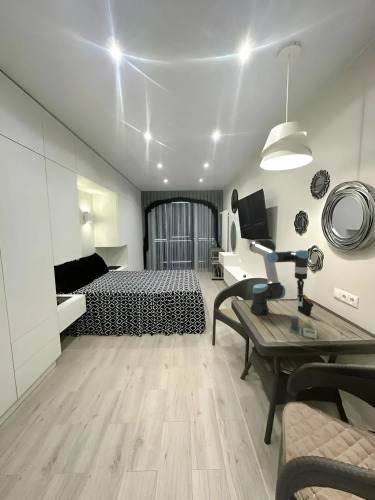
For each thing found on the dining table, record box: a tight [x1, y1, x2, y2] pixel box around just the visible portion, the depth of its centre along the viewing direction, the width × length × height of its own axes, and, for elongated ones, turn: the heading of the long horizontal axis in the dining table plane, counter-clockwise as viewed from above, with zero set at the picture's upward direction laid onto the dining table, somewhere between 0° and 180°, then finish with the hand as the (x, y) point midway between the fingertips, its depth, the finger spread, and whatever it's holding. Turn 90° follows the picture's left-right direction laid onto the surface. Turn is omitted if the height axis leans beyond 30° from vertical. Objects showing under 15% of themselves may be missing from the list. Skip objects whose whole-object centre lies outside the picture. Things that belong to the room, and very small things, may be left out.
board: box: [288, 324, 318, 340], centre depth 136 cm, size 16×12×3 cm
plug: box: [290, 315, 300, 331], centre depth 139 cm, size 4×4×8 cm
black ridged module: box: [297, 294, 314, 317], centre depth 166 cm, size 4×13×15 cm, turn 10°
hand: (299, 302), depth 140 cm, fingers open, 13 cm apart
